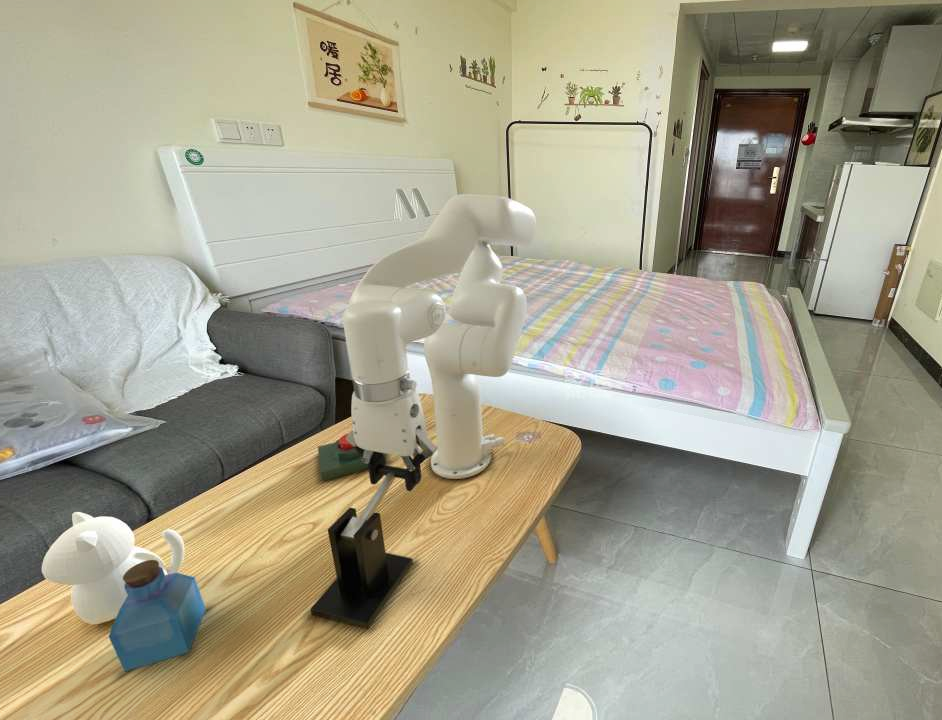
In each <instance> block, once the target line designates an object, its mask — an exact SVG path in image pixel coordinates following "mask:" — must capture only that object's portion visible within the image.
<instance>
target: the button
mask: <svg viewBox="0 0 942 720" xmlns="http://www.w3.org/2000/svg"><path fill="white" fill-rule="evenodd" d="M348 434H349V433H345V434H344V435H341V436H340V437H339V439H338V440H339V445H340V448H341V449H342V450H350V449H354V448H355V446H352V445H351V444H350V443H349V442H348V441H347V440H346V436H347V435H348Z"/></svg>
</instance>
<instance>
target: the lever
mask: <svg viewBox="0 0 942 720" xmlns="http://www.w3.org/2000/svg"><path fill="white" fill-rule="evenodd" d="M405 469H406V468H404V467H399V466H394V465H388V464H385V465H382V464H380V465H378V466H377V469H376V473H377V474H379V475H384V479H383V480H382V481H381V484H379V486H378V487H377V490H376V491H375V492H374V494H373V495H372V497H371V498H370V500H369V502H368V503H367V504H366V506H365V508H364V509H363V511H362V512H361V514H360V516H357V517H352V518H351V520H350V521H349V523H348V524H347V526H346V527H345V529H344V530H343V532H342V533H341V536H342V538H343V539H344V541H345V542H346V543H347V544H352V545H355V541H354V534H355V533H356V532H357V531H358V530H359V528H360V527H361V526H362V525H363V524H364V523H365V522H366V521H367V520H368V519H369V517H370V516H371V515H372V514H373V513H374V512H375V513H376V510H377V508H379V505H380V504H381V503H382V501H383V499H384V497H385V495H386V494H387V493H388V491H389V489H390V488H391V486H392V485H393V483H394V482H395V480H396V479H401V480H405V476H404V471H405Z"/></svg>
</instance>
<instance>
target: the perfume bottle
mask: <svg viewBox="0 0 942 720" xmlns="http://www.w3.org/2000/svg"><path fill="white" fill-rule="evenodd" d="M123 580H124V581H125V585H124V587H125V590H126V593H127V594H128V596H127V598H126V600H125V601H124V603H123V605H122V606H121V608H120V610H119V612H118V614H117V617H116V618H115V619H114V622H113V625H112V627H111V630H110V632H109V634H108V638H109V641H110V643H111V645H112V647H113V649H114V651H115V654H116V656H117V658H118V660H119V663H120V664H121V667H122V669H123V671H124V672H129V671H132V670H135V669H138V668H141V667H144V666H148V665H151V664H152V665H153V664H155V663H158V662H162V661H165V660H167V659H172V658H174V657H178V656H181V655H185V654H188V653H190V650H191V648H192V645H193V643H194V641H195V638H196V635H197V633H198V630H199V629H200V627H201V623H202V621H203V619H204V616H205V613H206V611H207V609H206V605H205V603H204V600H203V597H202V595H201V592H200V589H199V586H198V582H197V580H196V578H195V576H191V575H188V574H183V573H179V572H177V573H173V574H169V575H165V574H164V571H163V569H162V568H161V567H159V563H158V561H156V560H147V561H144V562H141V563H139V564H137V565H135V566H133V567H132V568H130V569H129V570H128V571H127V572H126V573H125V574H124V576H123Z"/></svg>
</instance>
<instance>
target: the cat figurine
mask: <svg viewBox="0 0 942 720" xmlns="http://www.w3.org/2000/svg"><path fill="white" fill-rule="evenodd" d="M71 521H72V526H71V527H69V528H68V529H67V530H65V531H64V532H63V533H62V534H61V535H59V536H58V537H57V539H56V540H55V541H54V542H53V543H52V544H51V546H50V547H49V549H48V550H47V552H45V553H46V554H45V555H44V557H43V560H42V563H41V573H42V575H43V577H44V579H46V580H48V581H50V582H52V583H54V584H59V585H64V586H65V585H66V586H71V591H70V601H71V605H72V608H73V610H74V613H75V614H76V615H77V617H78V618H79V619H80V621H82V622H84V623H86V624H88V625H99V624H103V623H107V622H110V621H112V620H115V619H116V617H117V614H118V612H119V610H120V608H121V606H122V605H123V603H124V601H125V600H126V598H127V596H128V594H127V593H126V590H125V587H124V585H125V581H124V580H123V576H124V574H125V573H126V572H127V571H128V570H129V569H130V568H132V567H133V566H135V565H137V564H139V563H141V562H144V561H147V560H156V561H158V563H159V567H161V568H162V569H163V571H164V574H165V575H169V574H173V573H179V571H180V570H181V567H182V566H183V563H184V559H185V544H184V540H183V538H182V536H181V535H180V534H179V533H178V532H177V531H175V530H174V529H171V528H167V529H164V530H163V531H162V533H161V536H162V538H163V539H164V541H166V543H167V544H168V546H169V548H170V549H171V559H170V563H169V566H168V567H167V566H166V563H165V561H164V560H163V559H162V558H161V557H160V556H159V555H157V554H156V553H154V552H152V551H150V550H147V548H143V547H141V546H135V542H136V541H135V534H134V532H133V530H132V529H131V528H130V526H128V524H127V523H125V522H124V521H122V520H121V519H119V518H117V517H114V516H103V515H102V516H96V517H93V516H92V515H90V514H88V513H84V512H80V511H74V512H72V514H71Z"/></svg>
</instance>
